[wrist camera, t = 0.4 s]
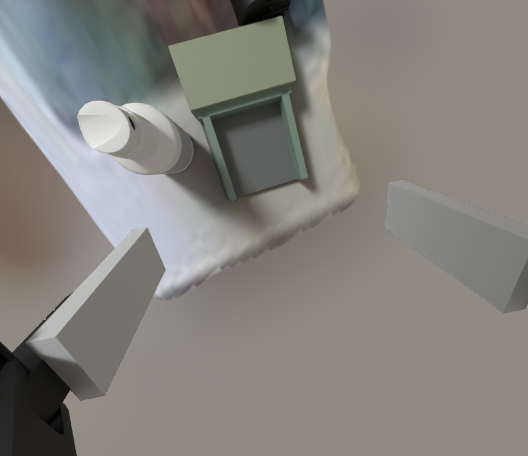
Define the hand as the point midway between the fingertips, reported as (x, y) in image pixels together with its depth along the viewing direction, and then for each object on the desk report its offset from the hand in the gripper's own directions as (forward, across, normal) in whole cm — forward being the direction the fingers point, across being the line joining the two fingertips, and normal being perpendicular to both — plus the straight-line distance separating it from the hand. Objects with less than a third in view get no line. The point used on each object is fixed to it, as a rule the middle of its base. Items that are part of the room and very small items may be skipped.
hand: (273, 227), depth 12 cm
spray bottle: (+25, -11, +3) cm, 28 cm away
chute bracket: (+26, +1, +5) cm, 26 cm away
